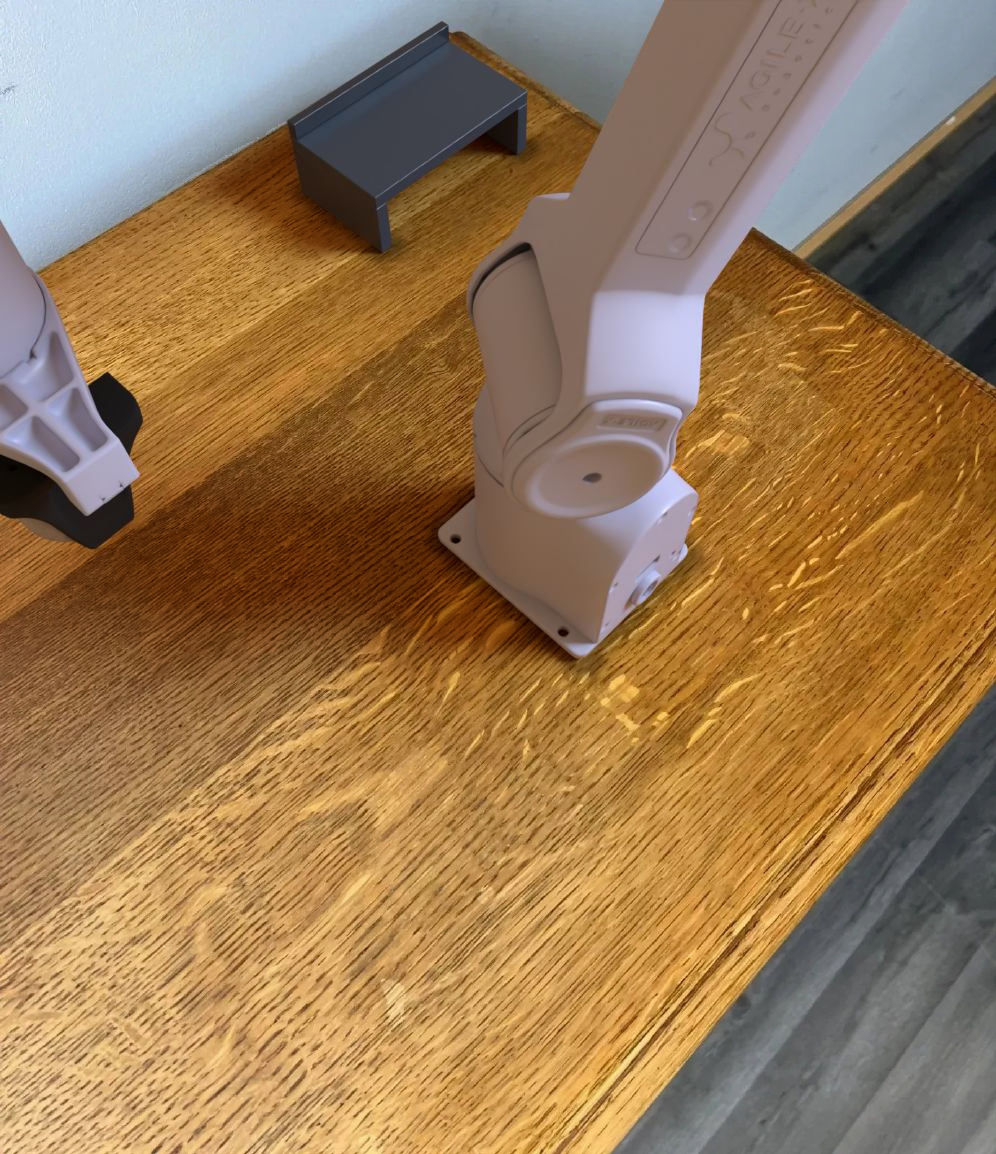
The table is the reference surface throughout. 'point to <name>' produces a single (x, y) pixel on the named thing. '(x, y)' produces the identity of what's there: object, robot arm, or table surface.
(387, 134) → the shelf
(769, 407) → the table surface
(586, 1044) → the table surface
